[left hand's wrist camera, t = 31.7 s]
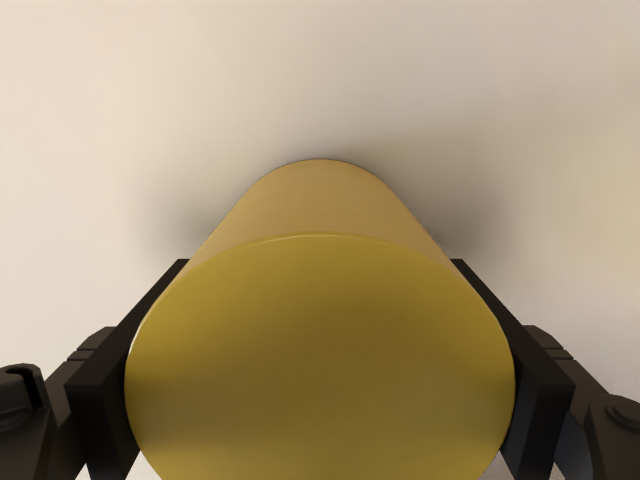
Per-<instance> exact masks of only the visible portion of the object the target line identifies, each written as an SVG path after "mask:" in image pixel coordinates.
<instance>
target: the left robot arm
mask: <svg viewBox="0 0 640 480" xmlns="http://www.w3.org/2000/svg"><path fill="white" fill-rule="evenodd" d="M189 260H190V259H177V261H176V262H175V263H174V264H173V265H172V266H171V267H170V268H169V269H168V270H167V272H166V273H165V274H164V275H163V276H162V277H161V278H160V279H159V280H158V281H157V283H156V284H155V285H154V286H153V287H152V288H151V289H150V290H149V291H148V292H147V293H146V295H145V296H144V297H143V298H142V299H141V300H140V301H139V302H138V303H137V304H136V306H135V307H134V308H133V309H132V310H131V311H130V312H129V313H128V314H127V315H126V317H125V318H124V319H123V320H122V321H121V322H120V323H119V324H118V325H117V326H116V327H104V328H102V329H101V330H99V331H97V332H96V333H94V334H92V335H91V336H89V337H88V338H87V339H86V340H85V341H84V342H83V343H82V344H81V345H80V346H79V347H78V348H77V351H74V352H73V353H72V354H71V355H70V356H69V357H68V358H67V361H66V362H63V363H62V364H61V365H60V366H59V367H58V368H57V369H56V370H55V371H54V372H53V373H52V374H51V375H50V376H49V377H48V378H47V379H46V380H45V381H44V380H43V376H42V373H41V370H40V368H39V367H37V366H36V365H34V364H25V363H21V364H15V365H8V366H5V367H2V368H0V480H75V479H76V477H77V476H78V474H79V473H80V471H81V469H82V468H83V466H84V465H85V463H86V465H87V468H88V471H89V475H90V478H91V480H125V479H126V477H127V475H128V473H129V471H130V469H131V467H132V465H133V463H134V462H135V460H136V458H137V456H138V454H139V452H140V448H139V446H138V445H137V442H136V440H135V437H134V435H133V433H132V430H131V428H130V425H129V420H128V416H127V412H126V408H125V397H124V378H125V368H126V361H127V358H128V354H129V350H130V347H131V343H132V341H133V338H134V336H135V334H136V332H137V330H138V328H139V325H140V323H141V321H142V320H143V318H144V317H145V316H146V314H147V313H148V311H149V310H150V308H151V307H152V305H153V304H154V302H155V301H156V300H157V299H158V298H159V296H160V295H161V294H162V293H163V291H164V290H165V289H166V288H167V287H168V285H169V284H170V283H171V282H172V281H173V279H174V278H175V277H176V276H177V275H178V273H179V272H180V271H181V270H182V269H183V267H184V266H185V265H186V264H187V263H188V261H189ZM450 261H451V262H452V263H453V264H454V265H455V267H456V268H457V269H458V270H459V271H460V273H461V274H462V275H463V276H464V277H465V279H466V280H467V281H468V282H469V283H470V285H471V286H472V287H473V288H474V289H475V291H476V292H477V293H478V294H479V295H480V297H481V298H482V299H483V300H484V302H485V303H486V305H487V306H488V307H489V309H490V310H491V312H492V313H493V314H494V316H495V317H496V319H497V320H498V322H499V324H500V326H501V328H502V331H503V333H504V335H505V337H506V339H507V341H508V345H509V348H510V352H511V355H512V358H513V363H514V372H515V380H516V390H515V405H514V410H513V415H512V419H511V424H510V426H509V429H508V431H507V434H506V437H505V439H504V442H503V444H502V445H501V447H500V449H499V450H500V452H501V454H502V456H503V458H504V460H505V462H506V464H507V466H508V468H509V470H510V472H511V474H512V476H513V477H514V479H515V480H549V477H550V474H551V470H552V467H553V464H554V462H555V463H556V465H557V466H558V468H559V469H560V471H561V472H562V474H563V476H564V477H565V480H640V403H638V402H636V401H633V400H631V399H628V398H625V397H622V396H618V395H612V394H609V393H608V392H607V391H606V390H605V389H604V388H603V387H602V386H601V385H600V384H599V383H598V382H597V381H596V380H595V379H594V378H593V377H592V376H591V375H590V374H589V373H588V372H587V371H586V370H585V369H584V368H583V367H582V366H581V365H580V364H579V363H578V362H577V361H576V360H574V359H573V357H572V356H571V355H570V354H569V353H568V352H567V351H566V350H564V349H563V347H562V346H561V345H560V344H559V343H558V342H557V341H556V340H555V339H554V338H553V337H552V336H551V335H550V334H548V333H546V332H545V331H543V330H541V329H540V328H538V327H536V326H535V325H521V323H520V322H519V321H518V320H517V319H516V318H515V317H514V316H513V315H512V314H511V312H510V311H509V310H508V309H507V308H506V307H505V306H504V305H503V304H502V303H501V301H500V300H499V299H498V298H497V297H496V296H495V295H494V294H493V293H492V292H491V290H490V289H489V288H488V287H487V286H486V285H485V284H484V283H483V282H482V281H481V280H480V278H479V277H478V276H477V275H476V274H475V273H474V272H473V271H472V270H471V269H470V267H469V266H468V265H467V264H466V263H465V262H464V261H463V260H462V259H450Z"/></svg>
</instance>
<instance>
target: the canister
mask: <svg viewBox="0 0 640 480" xmlns="http://www.w3.org/2000/svg"><path fill="white" fill-rule="evenodd" d="M515 390H516V380H515V372H514V363H513V358H512V355H511V352H510V348H509V345H508V341H507V339H506V337H505V335H504V333H503V331H502V328H501V326H500V324H499V322H498V320H497V319H496V317H495V316H494V314H493V313H492V312H491V310H490V309H489V307H488V306H487V305H486V303H485V302H484V300H483V299H482V298H481V297H480V295H479V294H478V293H477V292H476V291H475V289H474V288H473V287H472V286H471V285H470V283H469V282H468V281H467V280H466V279H465V277H464V276H463V275H462V274H461V273H460V271H459V270H458V269H457V268H456V267H455V265H454V264H453V263H452V262H451V261H450V259H449V258H448V257H447V256H446V255H445V253H444V252H443V251H442V250H441V249H440V247H439V246H438V245H437V244H436V243H435V241H434V240H433V239H432V238H431V237H430V235H429V234H428V233H427V232H426V231H425V229H424V228H423V227H422V226H421V225H420V223H419V222H418V221H417V220H416V219H415V217H414V216H413V215H412V214H411V212H410V211H409V210H408V209H407V208H406V206H405V205H404V204H403V203H402V202H401V200H400V199H399V198H398V197H397V196H396V194H395V193H394V192H393V191H392V190H391V189H390V188H389V187H388V186H387V185H386V184H385V183H384V182H382V181H381V180H380V179H379V178H377V177H376V176H375V175H373V174H371V173H369V172H368V171H366V170H364V169H362V168H360V167H357V166H355V165H352V164H349V163H345V162H341V161H336V160H328V159H311V160H304V161H298V162H294V163H291V164H287V165H285V166H282V167H280V168H278V169H275V170H273V171H272V172H270V173H268V174H267V175H265V176H263V177H262V178H261V179H260V180H258V181H257V182H256V183H255V184H253V185H252V186H251V188H250V189H249V190H248V191H247V192H246V193H245V194H244V195H243V196H242V198H241V199H240V200H239V201H238V202H237V204H236V205H235V206H234V207H233V208H232V210H231V211H230V212H229V213H228V214H227V216H226V217H225V218H224V219H223V220H222V222H221V223H220V224H219V225H218V226H217V228H216V229H215V230H214V231H213V233H212V234H211V235H210V236H209V237H208V239H207V240H206V241H205V242H204V243H203V245H202V246H201V247H200V248H199V249H198V251H197V252H196V253H195V254H194V255H193V257H192V258H191V259H190V260H189V261H188V263H187V264H186V265H185V266H184V267H183V269H182V270H181V271H180V272H179V273H178V275H177V276H176V277H175V278H174V279H173V281H172V282H171V283H170V284H169V285H168V287H167V288H166V289H165V290H164V291H163V293H162V294H161V295H160V296H159V298H158V299H157V300H156V301H155V302H154V304H153V305H152V307H151V308H150V310H149V311H148V313H147V314H146V316H145V317H144V318H143V320H142V321H141V323H140V325H139V328H138V330H137V332H136V334H135V336H134V338H133V341H132V343H131V347H130V350H129V354H128V358H127V361H126V368H125V378H124V397H125V408H126V412H127V416H128V420H129V425H130V428H131V430H132V433H133V435H134V437H135V440H136V442H137V445H138V446H139V448H140V450H141V451H142V453H143V455H144V457H145V458H146V460H147V462H148V463H149V464H150V465H151V467H152V468H153V469H154V470H155V472H156V473H157V474H158V476H159V477H160V478H161V479H162V480H477V479H478V478H479V477H480V476H481V475H482V474H483V473H484V471H485V470H486V469H487V467H488V466H489V465H490V463H491V462H492V461H493V459H494V458H495V456H496V454H497V452H498V451H499V449H500V447H501V445H502V444H503V442H504V439H505V437H506V434H507V431H508V429H509V426H510V424H511V419H512V415H513V410H514V405H515Z"/></svg>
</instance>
